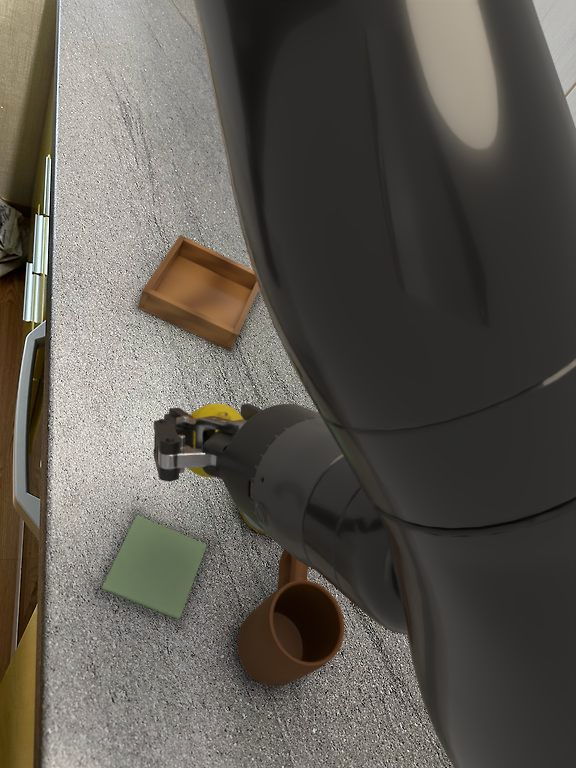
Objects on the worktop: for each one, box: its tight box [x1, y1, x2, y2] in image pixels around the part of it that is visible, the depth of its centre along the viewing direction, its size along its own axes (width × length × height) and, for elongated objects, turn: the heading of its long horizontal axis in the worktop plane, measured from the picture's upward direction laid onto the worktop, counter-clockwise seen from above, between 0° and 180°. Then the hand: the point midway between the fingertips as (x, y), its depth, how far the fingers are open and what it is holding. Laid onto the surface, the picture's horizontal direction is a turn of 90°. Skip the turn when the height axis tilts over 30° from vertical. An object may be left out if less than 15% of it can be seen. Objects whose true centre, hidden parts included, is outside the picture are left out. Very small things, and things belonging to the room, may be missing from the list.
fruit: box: [187, 403, 244, 479], centre depth 46 cm, size 6×6×8 cm
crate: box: [137, 234, 260, 352], centre depth 81 cm, size 14×14×4 cm
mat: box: [101, 514, 208, 620], centre depth 58 cm, size 8×8×1 cm
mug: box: [236, 549, 345, 688], centre depth 55 cm, size 12×8×9 cm, turn 2°
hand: (209, 418), depth 46 cm, fingers closed on fruit, 5 cm apart
